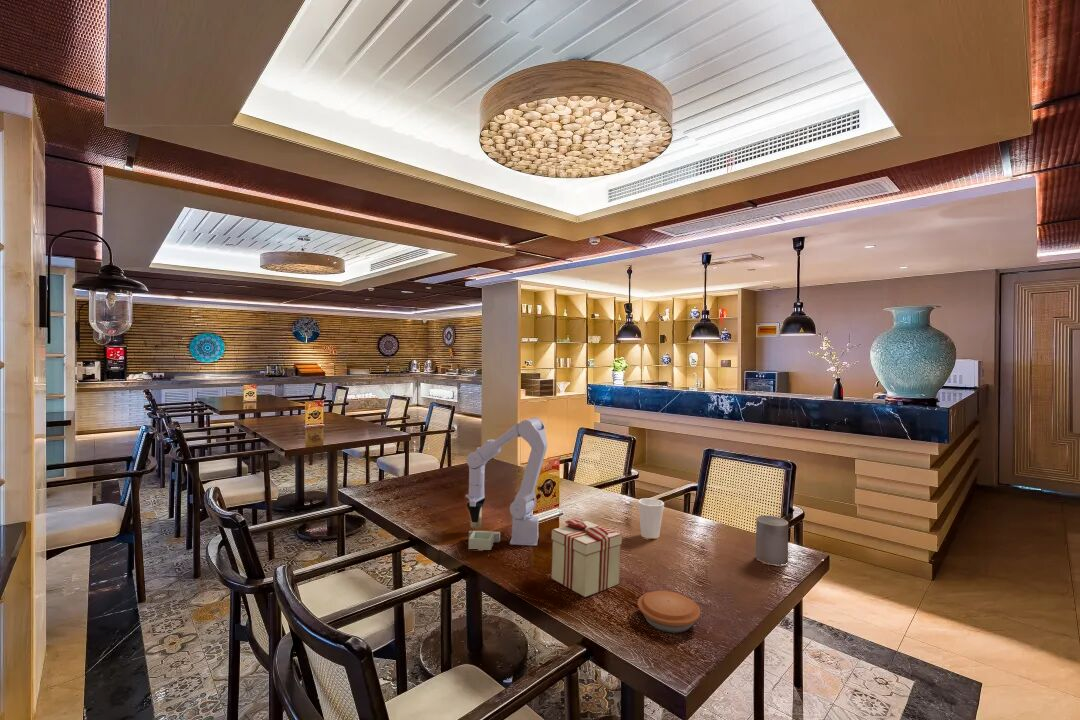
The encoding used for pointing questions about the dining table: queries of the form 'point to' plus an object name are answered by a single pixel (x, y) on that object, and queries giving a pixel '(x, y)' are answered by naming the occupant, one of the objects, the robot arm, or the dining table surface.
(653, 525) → the foam cup
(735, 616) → the dining table surface
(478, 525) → the dowel
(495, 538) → the rail
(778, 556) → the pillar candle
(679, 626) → the pie
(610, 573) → the gift box
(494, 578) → the dining table surface
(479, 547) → the socket block
